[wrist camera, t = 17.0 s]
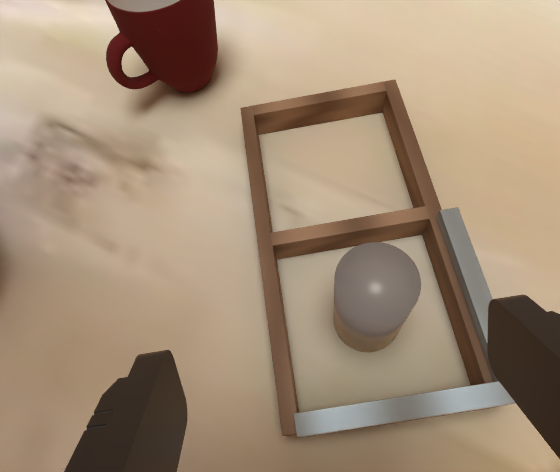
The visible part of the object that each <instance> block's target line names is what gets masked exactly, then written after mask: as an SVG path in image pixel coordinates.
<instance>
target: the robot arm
mask: <svg viewBox="0 0 560 472" xmlns="http://www.w3.org/2000/svg"><path fill="white" fill-rule="evenodd" d="M487 354H488V360H489V364H490V367H491V369H492V371H493V373H494V375H495V377H496V378H497V380H498V381H499V382H500V383H501V385H502V386H503V387H504V389H505V390H506V391H507V392H508V394H509V395H510V396H511V397H512V399H513V400H514V401H515V403H516V404H517V405H518V406H519V408H520V409H521V410H522V412H523V413H524V414H525V415H526V417H527V418H528V419H529V420H530V422H531V423H532V424H533V426H534V427H535V428H536V429H537V431H538V432H539V433H540V434H541V436H542V437H543V438H544V440H545V441H546V442H547V443H548V445H549V446H550V447H551V449H552V450H553V451H554V452H555V454H556V455H557V456H558V457H559V459H560V314H558V313H555V312H553V311H550V312H546V311H545V310H544V309H542V308H541V307H540V306H539V305H538V304H536V303H535V302H534V301H533V300H531V299H530V298H529V297H528V296H526V295H517V296H511V297H505V298H498V299H493V300H491V301H490V303H489V306H488V342H487ZM186 425H187V404H186V398H185V395H184V391H183V388H182V385H181V381H180V378H179V375H178V371H177V368H176V364H175V361H174V358H173V355H172V353H171V352H170V351H169V350H165V351H158V352H152V353H146V354H139V355H138V356H137V357H136V359H135V362H134V364H133V366H132V368H131V371H130V373H129V375H128V377H125V378H119V379H118V380H117V381H116V382H115V383H114V384H113V385H112V386H111V387H110V388H109V389H108V390H107V391H106V392H105V393H104V394H103V395H102V397H101V399H100V401H99V403H98V405H97V407H96V409H95V411H94V416H92V417H91V419H90V421H89V423H88V425H87V430H86V431H84V433H83V435H82V437H81V439H80V441H79V443H78V445H77V447H76V449H75V451H74V453H73V455H72V457H71V459H70V461H69V463H68V465H67V467H66V469H65V471H64V472H177V467H178V463H179V458H180V453H181V449H182V444H183V439H184V435H185V430H186Z"/></svg>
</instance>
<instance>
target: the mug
mask: <svg viewBox="0 0 560 472" xmlns="http://www.w3.org/2000/svg"><path fill="white" fill-rule="evenodd" d="M105 1H106V3H107V5H108V7H109V9H110V11H111V13H112V16H113V18H114V20H115V22H116V24H117V26H118V28H119V31H120V33H119V34H118V35H116V36H115V37H114V38H113V39H112V40H111V41H110V43H109V45H108V48H107V53H106V61H107V66H108V69H109V72H110V73H111V75H112V77H113V78H114V79H115V80H116V81H117V82H118V83H119V84H121V85H122V86H124V87H126V88H129V89H141V88H144V87H146V86H148V85H150V84H152V83H154V82H155V81H157V80H161V81H162V82H164V83H166V84H167V85H169V86H171V87H173V88H174V89H176V90H178V91H180V92H185V93H189V92H195V91H198V90H200V89H202V88H203V87H205V86H206V85H207V84H208V83H209V81H210V79H211V77H212V74H213V70H214V67H215V64H216V60H217V52H218V45H217V33H216V21H215V10H214V0H105ZM131 46H132V47H133V48H134V50H135V51H136V52H137V53H138V55H139V56H140V57H141V59H142V60H143V61H144V63H145V64H146V66H147V67H148V69H149V71H148V72H147V73H145V74H143V75H141V76H138V77H127V76H126V75H125V74H124V72H123V70H122V65H121V61H122V57H123V54H124V53H125V51H126V50H127V49H128V48H130V47H131Z"/></svg>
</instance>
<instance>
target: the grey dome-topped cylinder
mask: <svg viewBox="0 0 560 472" xmlns="http://www.w3.org/2000/svg"><path fill="white" fill-rule="evenodd" d="M420 290H421V279H420V275H419V272H418V269H417V267H416V265H415V263H414V262H413V261H412V259H411V258H410V257H409V256H408V255H407V254H406V253H405V252H403V251H402V250H400V249H399V248H397V247H395V246H392V245H389V244H386V243H379V242H371V243H365V244H361V245H359V246H356V247H354V248H352V249H351V250H350V251H348V252H347V253H346V254H345V255H344V256H343V257H342V259H341V260H340V262H339V264H338V266H337V268H336V272H335V284H334V325H335V329H336V331H337V334H338V335H339V337H340V338H341V340H342V341H343V342H344V343H345V344H347V345H348V346H349V347H351V348H353V349H355V350H358V351H362V352H374V351H378V350H381V349H383V348H385V347H386V346H388V345H389V344H390V343H391V342H392V341H393V339H394V338H395V336H396V334H397V333H398V331H399V330H400V328H401V326H402V325H403V323H404V322H405V320H406V318H407V317H408V315H409V314H410V312H411V310H412V309H413V307H414V306H415V304H416V302H417V300H418V298H419V295H420Z"/></svg>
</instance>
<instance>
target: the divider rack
mask: <svg viewBox="0 0 560 472" xmlns="http://www.w3.org/2000/svg"><path fill="white" fill-rule="evenodd" d="M380 112H383V114H384V117H385V120H386V123H387V126H388V129H389V132H390V135H391V139H392V142H393V145H394V148H395V151H396V154H397V157H398V160H399V163H400V166H401V170H402V173H403V176H404V179H405V182H406V185H407V188H408V191H409V194H410V197H411V201H412V204H413V207H414V208H412V209H406V210H400V211H395V212H389V213H383V214H377V215H372V216H366V217H360V218H354V219H349V220H343V221H337V222H331V223H325V224H320V225H314V226H308V227H302V228H297V229H291V230H285V231H279V232H272V225H271V218H270V211H269V204H268V198H267V191H266V184H265V177H264V170H263V164H262V157H261V150H260V143H259V136H258V135H259V134H264V133H270V132H275V131H281V130H286V129H292V128H297V127H303V126H308V125H314V124H319V123H325V122H330V121H336V120H341V119H347V118H352V117H358V116H363V115H369V114H374V113H380ZM241 116H242V123H243V131H244V139H245V147H246V155H247V163H248V170H249V178H250V186H251V194H252V202H253V210H254V217H255V225H256V233H257V241H258V249H259V256H260V264H261V272H262V280H263V288H264V296H265V303H266V311H267V319H268V327H269V335H270V342H271V350H272V358H273V366H274V374H275V382H276V389H277V397H278V405H279V413H280V421H281V429H282V436H290V435H297V437H307V436H313V435H320V434H326V433H332V432H339V431H345V430H352V429H358V428H365V427H371V426H377V425H384V424H390V423H397V422H403V421H410V420H416V419H422V418H429V417H435V416H442V415H448V414H455V413H461V412H467V411H474V410H480V409H487V408H493V407H499V406H504V405H509V404H514V403H515V401H514V400H513V399H512V397H511V396H510V395H509V394H508V392H507V391H506V390H505V389H504V387H503V386H502V385H501V383H500V382H499V381H498V380H497V378H496V377H495V375H494V373H493V371H492V369H491V367H490V364H489V360H488V354H487V342H488V306H489V303H490V301H491V300H493V299H492V296H491V294H490V291H489V288H488V286H487V283H486V280H485V278H484V275H483V272H482V270H481V267H480V264H479V262H478V259H477V256H476V254H475V251H474V248H473V246H472V243H471V240H470V238H469V235H468V232H467V230H466V227H465V225H464V222H463V219H462V217H461V214H460V211H459V209H458V207H456V208H451V209H445V210H442V209H441V207H440V204H439V201H438V198H437V195H436V192H435V190H434V187H433V184H432V181H431V178H430V176H429V173H428V170H427V167H426V164H425V162H424V159H423V156H422V153H421V150H420V147H419V145H418V142H417V139H416V136H415V133H414V131H413V128H412V125H411V122H410V119H409V117H408V114H407V111H406V108H405V105H404V102H403V100H402V97H401V94H400V91H399V88H398V86H397V83H396V80H390V81H385V82H379V83H374V84H368V85H363V86H358V87H352V88H347V89H341V90H336V91H330V92H325V93H320V94H314V95H309V96H303V97H298V98H292V99H287V100H282V101H276V102H271V103H265V104H260V105H254V106H249V107H244V108H241ZM421 234H422V235H423V238H424V241H425V244H426V247H427V250H428V253H429V256H430V259H431V263H432V266H433V269H434V272H435V275H436V278H437V281H438V284H439V287H440V290H441V294H442V297H443V300H444V303H445V306H446V309H447V312H448V315H449V318H450V321H451V324H452V328H453V331H454V334H455V337H456V340H457V343H458V346H459V349H460V352H461V355H462V359H463V362H464V365H465V368H466V371H467V374H468V377H469V380H470V383H471V386H467V387H460V388H454V389H448V390H441V391H435V392H429V393H422V394H416V395H410V396H403V397H397V398H391V399H384V400H378V401H371V402H365V403H359V404H352V405H346V406H340V407H333V408H327V409H321V410H314V411H308V412H302V413H299V409H298V402H297V395H296V388H295V381H294V375H293V368H292V361H291V354H290V347H289V341H288V334H287V327H286V320H285V313H284V306H283V300H282V293H281V286H280V279H279V272H278V266H277V259H281V258H287V257H293V256H299V255H304V254H310V253H316V252H322V251H328V250H334V249H339V248H345V247H351V246H357V245H361V244H365V243H371V242H380V241H386V240H392V239H398V238H404V237H410V236H416V235H421Z"/></svg>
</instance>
